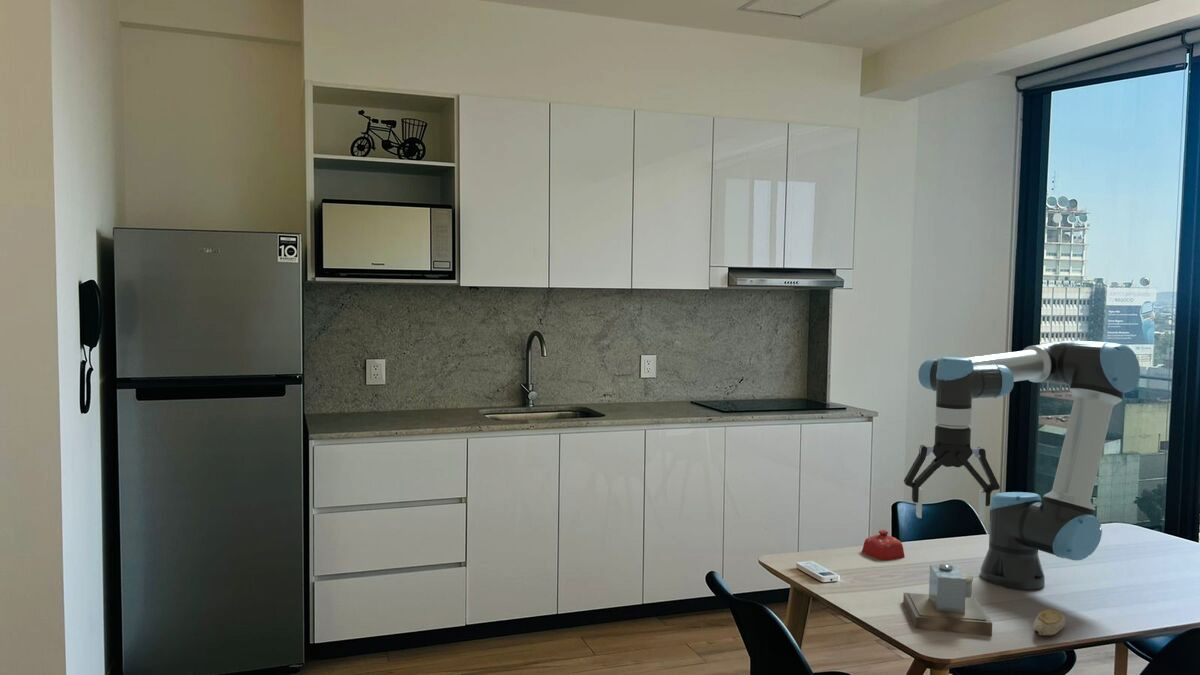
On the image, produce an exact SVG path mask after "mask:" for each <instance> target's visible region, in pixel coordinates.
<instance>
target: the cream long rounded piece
mask: <svg viewBox="0 0 1200 675" xmlns="http://www.w3.org/2000/svg"><path fill="white" fill-rule="evenodd" d="M1065 624H1066V616H1065V614H1064V613H1063V612H1061V611H1059V610H1056V609H1052V608H1051V609H1045V610H1042V611H1041V612H1040V613H1038V614H1037V616H1036V617H1035V619H1034V622H1033V625H1032V632H1033V633H1035V634H1036V635H1039V636H1043V637H1044V636H1053V635H1056V634H1058V632H1060V631H1062V629H1064V627H1065Z"/></svg>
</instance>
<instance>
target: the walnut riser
mask: <svg viewBox="0 0 1200 675" xmlns="http://www.w3.org/2000/svg"><path fill="white" fill-rule="evenodd" d="M902 600H903V605H904V607H905V609H906V611H907V613H908V615H909V619H910V620H911V622H912V624H913V627H914V629H918V630H925V631H926V630H928V631H937V632H947V633H957V634H968V635H978V636H988V637H992V635H993V622H992V621H991V619H990V617H989V616H988V614H987V613H986V612H985V611H984V609H983V608H982V606H981V605H980V603H979V602H978V600H976V597H972V596H971V597H966V599H965V614H954V613H941V612H936V610H935V608H934V607H933V605H932V603H931V601H930V600H929V593H928V594H927V593H915V592H914V593H911V592H903V599H902Z"/></svg>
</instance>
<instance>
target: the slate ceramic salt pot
mask: <svg viewBox="0 0 1200 675" xmlns="http://www.w3.org/2000/svg"><path fill="white" fill-rule="evenodd" d="M961 573H962V574H963V575H964V577H965V578H966V597H971V598H972V592H973V590H972V588H973V581H974V577H973V575H972V574H970V573H966V572H962V571H961Z"/></svg>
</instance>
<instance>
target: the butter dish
mask: <svg viewBox="0 0 1200 675" xmlns="http://www.w3.org/2000/svg"><path fill="white" fill-rule="evenodd" d="M888 533H889V531H888V530H886V529H881V530H880V529H879V531H878V534H876V535H875V534H874V535H871V536H868V537H867V538H865V540H864V541H863V545H862V550H861V552H862V553H863V554H865V555H867V556H869V557H872V558H874V559H876V560H880V561H894V560H898V559H903V558H905V557H906V556H905V552H904V551H905V550H904V546H903V543H902V541H900V540H899V539H897V538H896V537H894V536H891V535H889V534H888Z"/></svg>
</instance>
